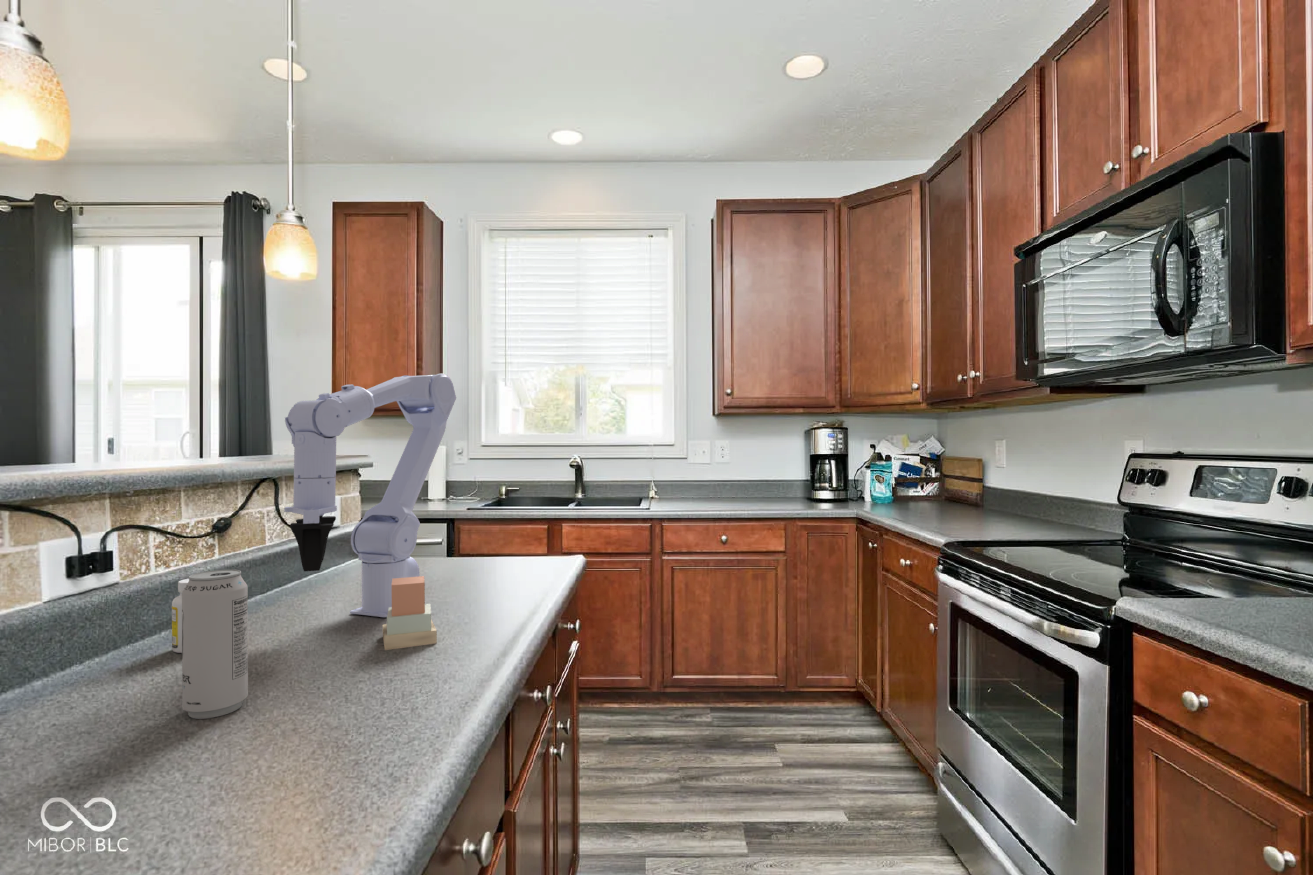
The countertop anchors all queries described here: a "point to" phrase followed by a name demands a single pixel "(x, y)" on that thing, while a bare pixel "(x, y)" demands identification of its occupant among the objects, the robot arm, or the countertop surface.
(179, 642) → the supplement bottle
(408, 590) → the terracotta cube
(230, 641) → the energy drink can
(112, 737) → the countertop surface
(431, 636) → the tower base
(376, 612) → the robot arm
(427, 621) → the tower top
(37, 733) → the countertop surface
